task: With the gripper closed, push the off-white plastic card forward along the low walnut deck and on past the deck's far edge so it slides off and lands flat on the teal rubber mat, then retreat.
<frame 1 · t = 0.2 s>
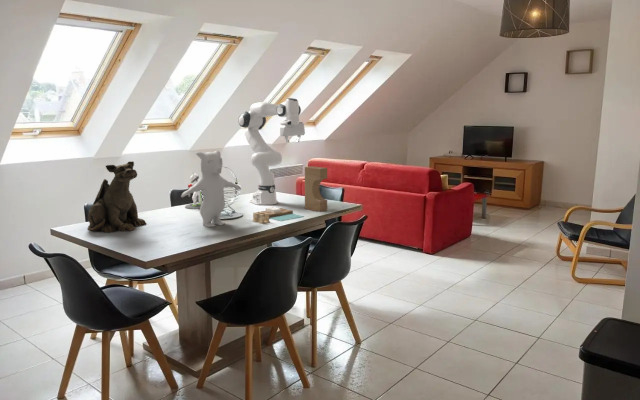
hand: (292, 142, 354), 47 cm above the table, fingers open, 8 cm apart
sculpture: (119, 228, 305), on the table
mat: (286, 217, 334), on the table
deck: (274, 214, 344), on the table
toy bear: (214, 225, 313), on the table
decorative block: (315, 209, 360), on the table
figurine: (196, 207, 370), on the table
oak rack: (261, 221, 321), on the table
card: (273, 211, 344), point 2 cm above the table, touching deck
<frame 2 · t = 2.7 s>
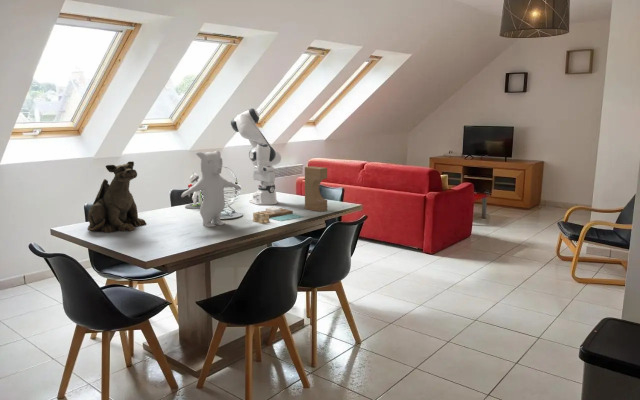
hand: (263, 187, 348), 17 cm above the table, fingers closed
nothing on the table moved.
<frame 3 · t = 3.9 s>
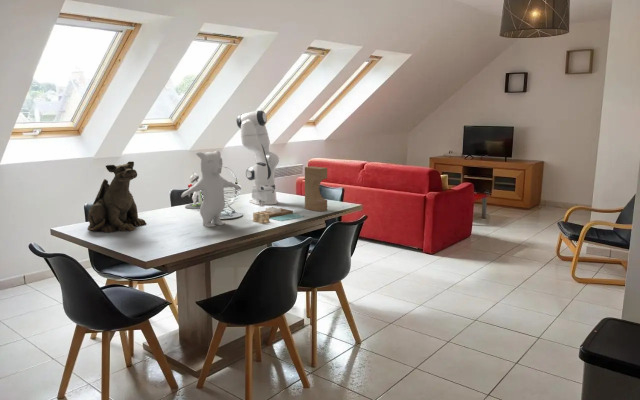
hand: (261, 206, 350), 4 cm above the table, fingers closed
nothing on the table moved.
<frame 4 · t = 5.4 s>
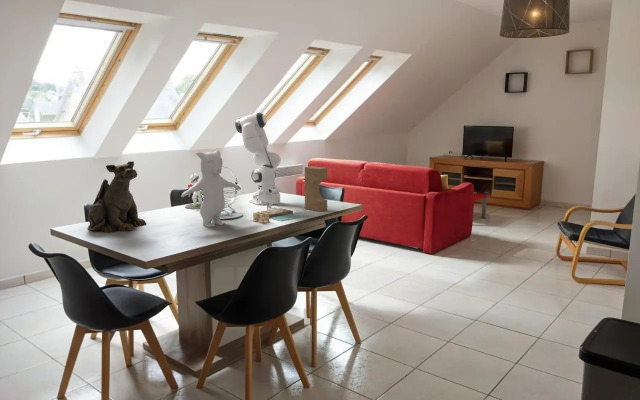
hand: (269, 208, 346), 3 cm above the table, fingers closed
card: (274, 211, 343), point 2 cm above the table
everything else where it was.
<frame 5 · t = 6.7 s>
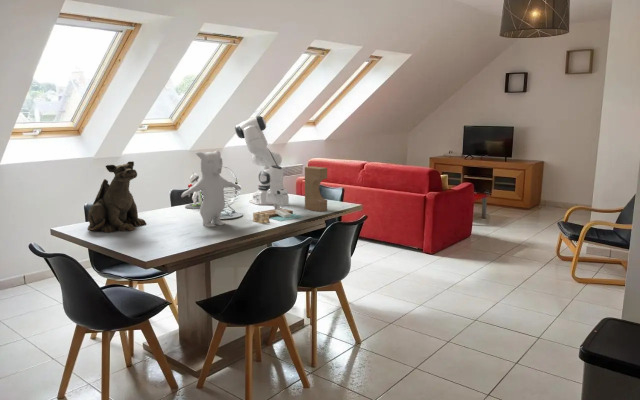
hand: (277, 210, 340), 3 cm above the table, fingers closed
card: (282, 214, 337), point 1 cm above the table, tilted 13°, touching deck
everything else where it was.
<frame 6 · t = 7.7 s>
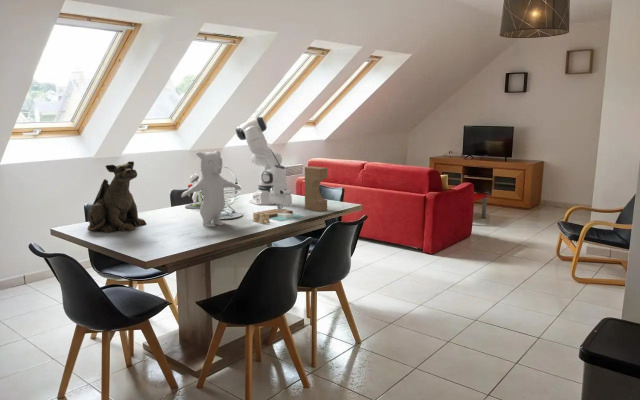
hand: (280, 210, 338), 4 cm above the table, fingers closed
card: (285, 216, 335), resting on mat
everything else where it was.
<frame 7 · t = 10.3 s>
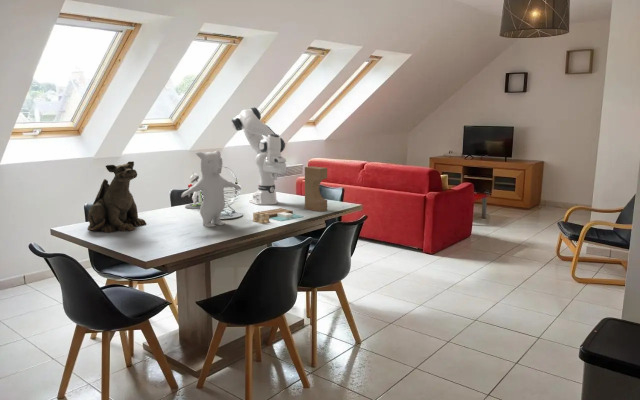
hand: (274, 179, 340), 24 cm above the table, fingers closed
nothing on the table moved.
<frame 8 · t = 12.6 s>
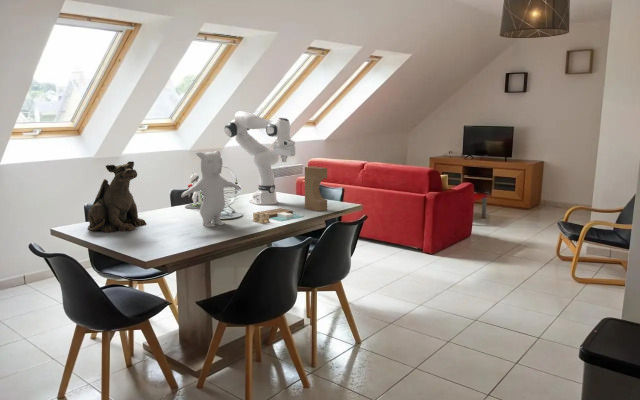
hand: (284, 162, 351), 34 cm above the table, fingers closed
nothing on the table moved.
at the end: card inside the target area on the mat (1.7 cm from its centre), point 0.3 cm above the mat's base; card resting on mat; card touching mat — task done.
